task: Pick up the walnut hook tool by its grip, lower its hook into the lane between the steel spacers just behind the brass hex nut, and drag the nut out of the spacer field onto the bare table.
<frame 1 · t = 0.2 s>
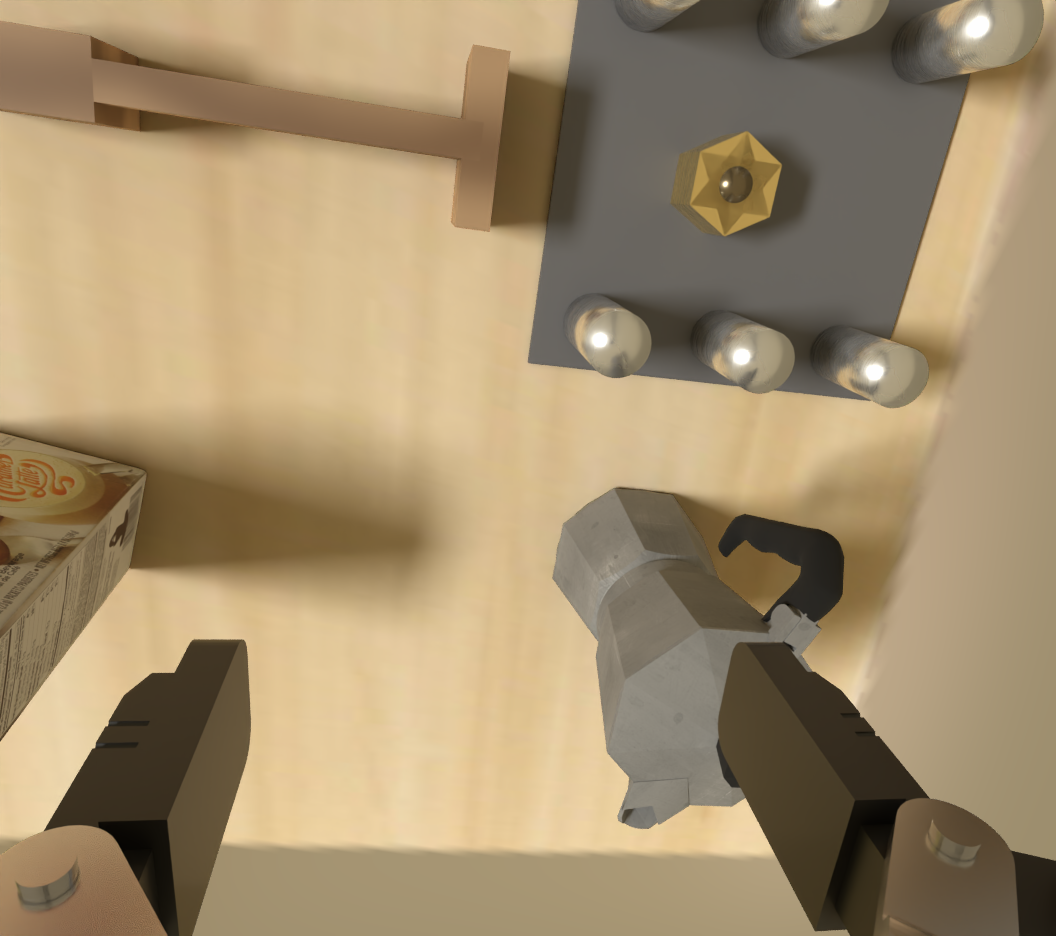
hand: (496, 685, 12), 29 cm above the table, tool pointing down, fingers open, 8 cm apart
steel spacers: (747, 190, 38), resting on spacer mat
spacer mat: (747, 190, 38), on the table
hook tool: (65, 83, 33), on the table
brass nut: (712, 185, 37), resting on spacer mat
coffee box: (52, 497, 39), on the table
coffeepot: (635, 539, 44), on the table
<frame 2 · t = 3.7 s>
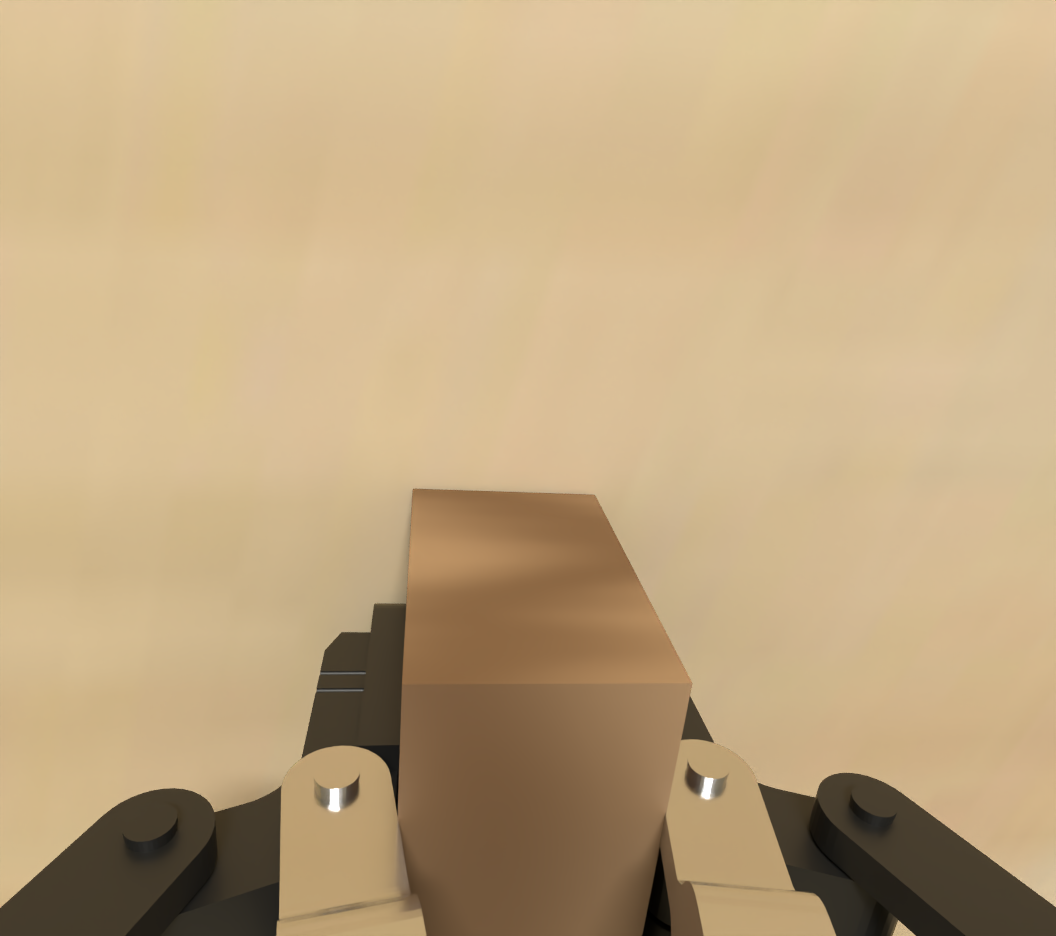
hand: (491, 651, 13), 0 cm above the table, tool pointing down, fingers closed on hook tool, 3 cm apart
hook tool: (492, 647, 13), on the table, touching gripper
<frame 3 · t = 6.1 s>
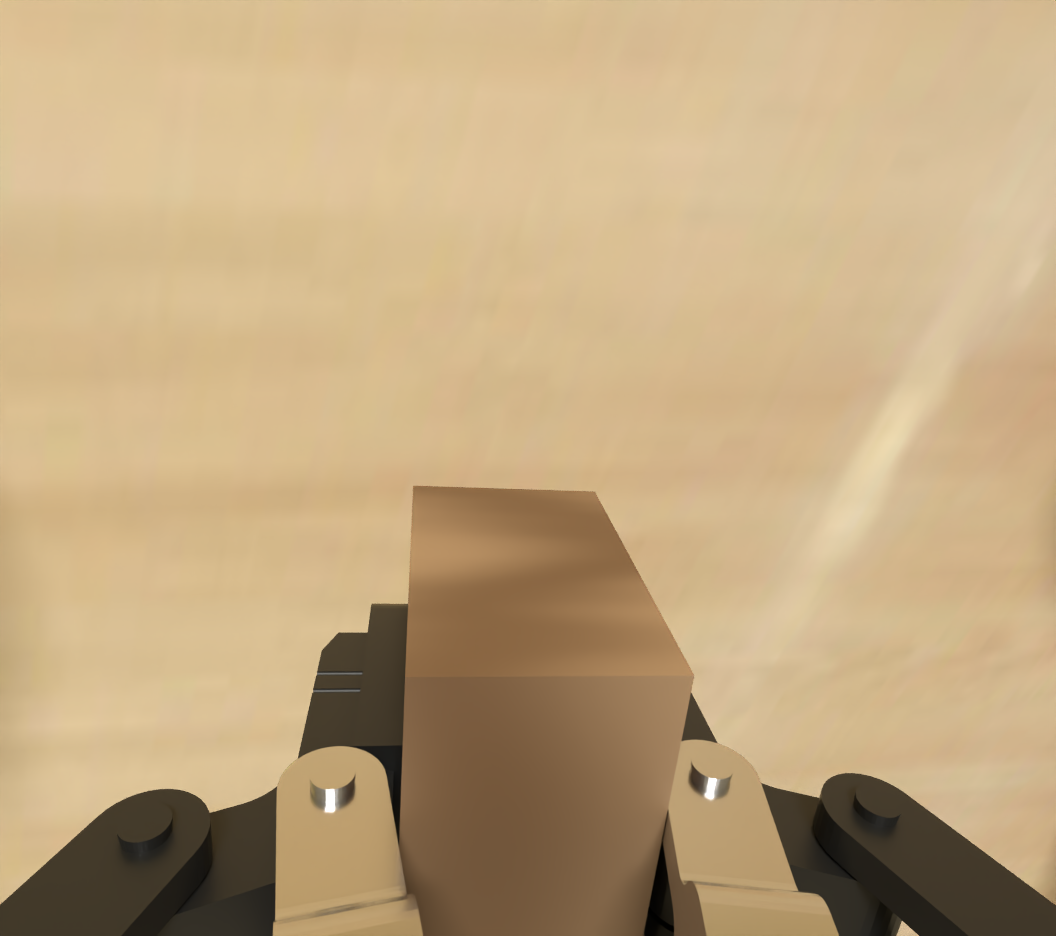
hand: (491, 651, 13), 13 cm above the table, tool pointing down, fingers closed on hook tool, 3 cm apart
hook tool: (492, 644, 13), point 13 cm above the table, touching gripper
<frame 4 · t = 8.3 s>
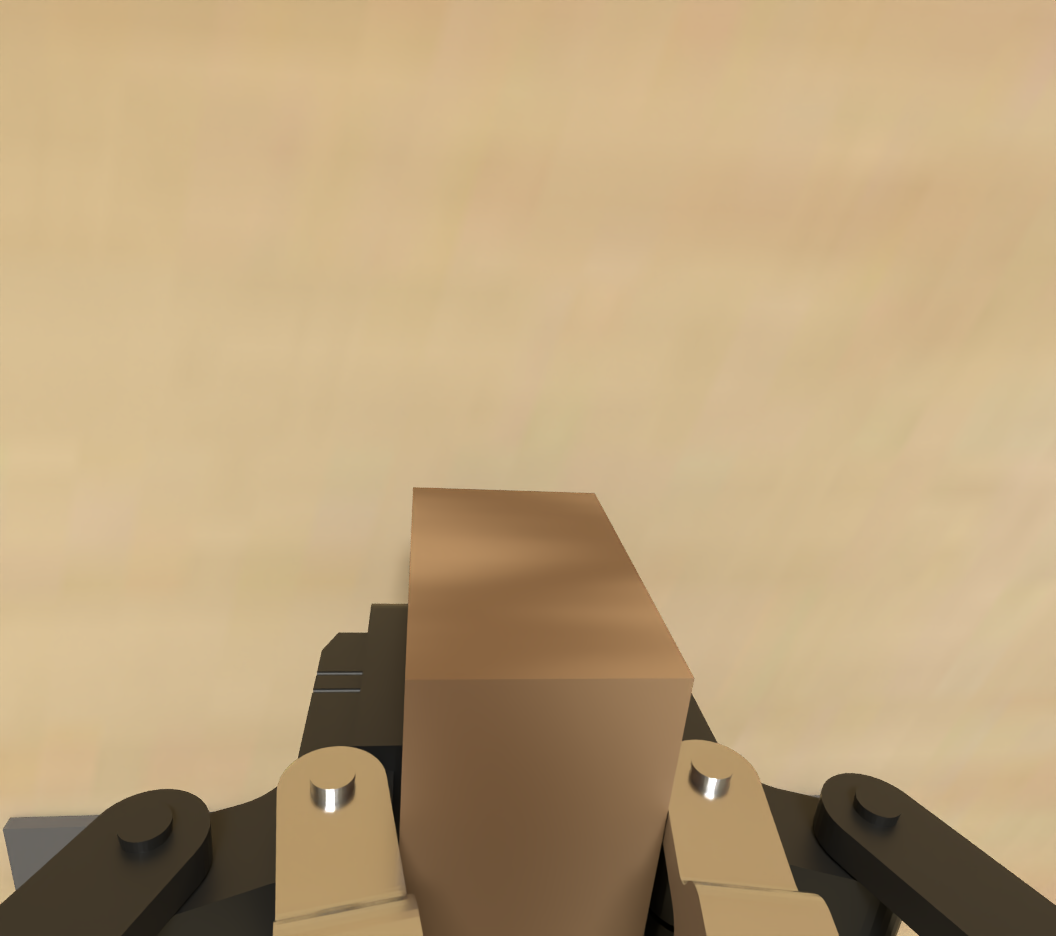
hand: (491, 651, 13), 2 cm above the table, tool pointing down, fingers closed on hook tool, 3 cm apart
hook tool: (492, 645, 13), point 2 cm above the table, touching gripper
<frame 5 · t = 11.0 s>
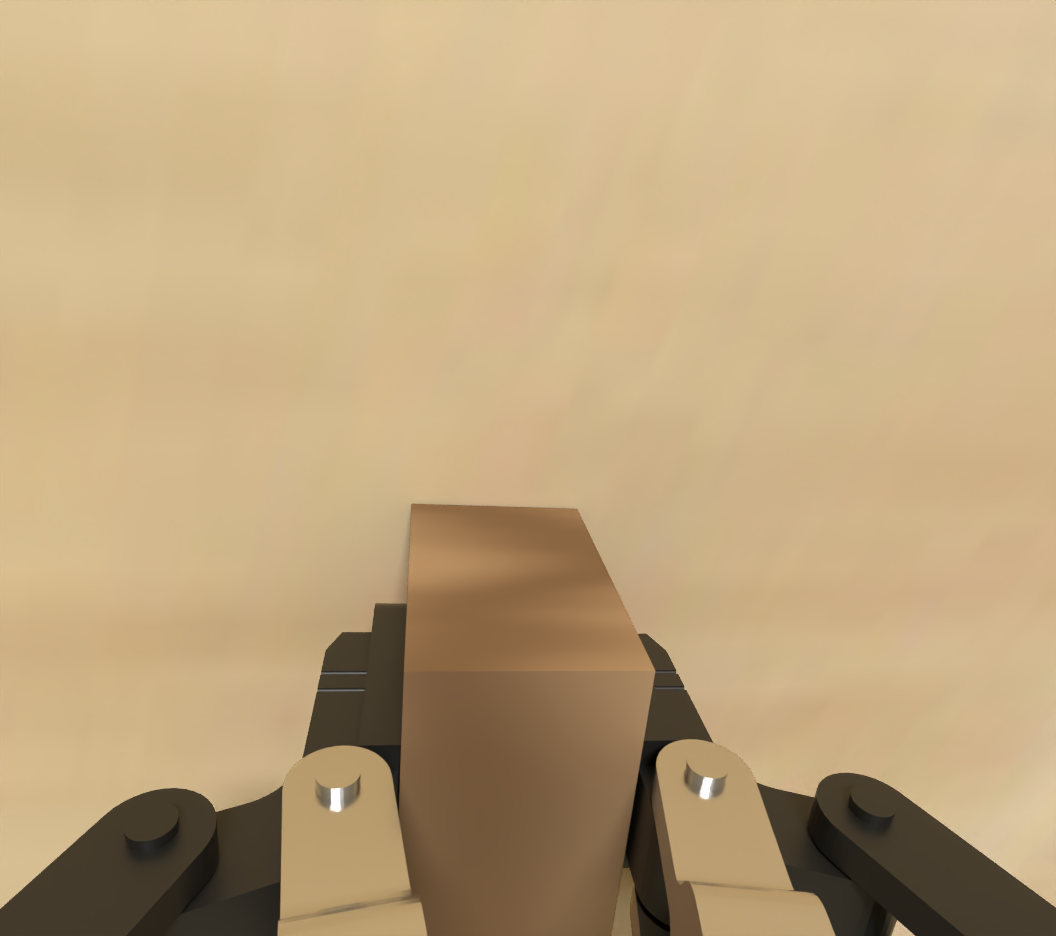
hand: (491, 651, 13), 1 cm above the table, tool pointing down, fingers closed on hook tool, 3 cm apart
hook tool: (484, 649, 14), on the table, touching brass nut, gripper
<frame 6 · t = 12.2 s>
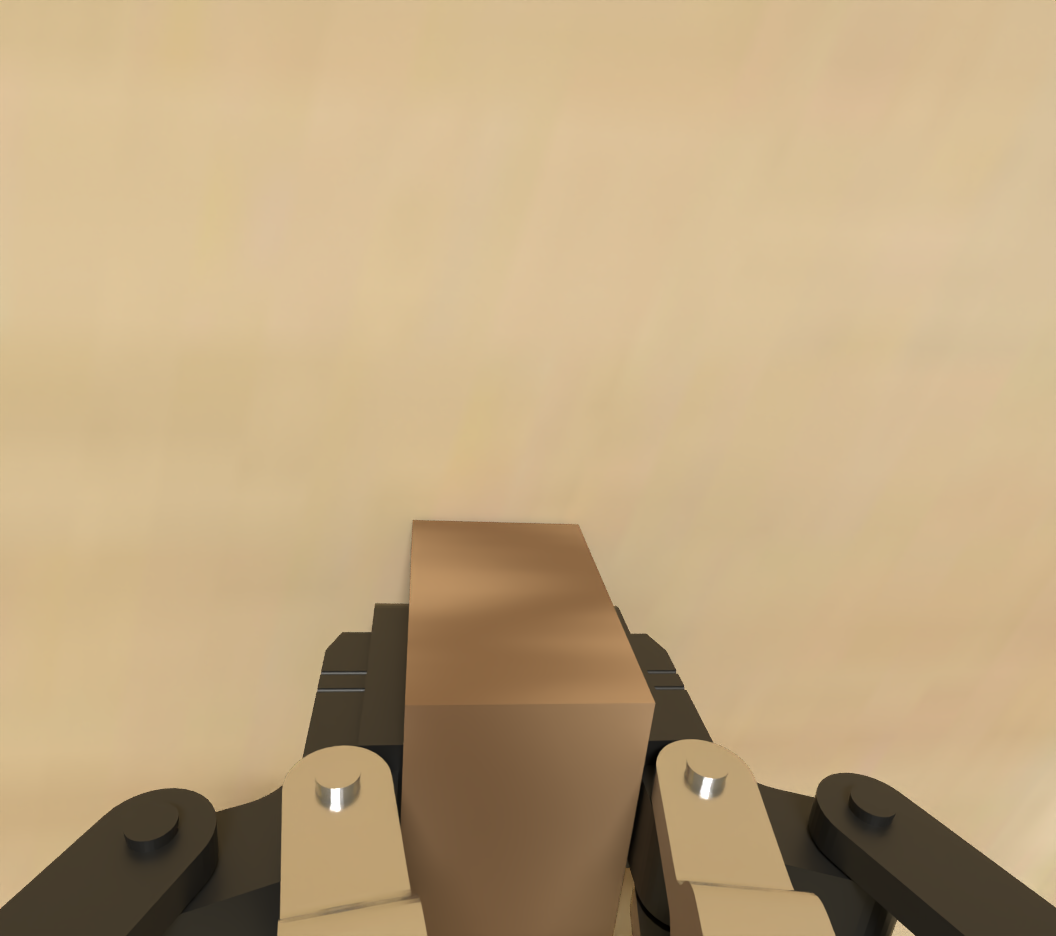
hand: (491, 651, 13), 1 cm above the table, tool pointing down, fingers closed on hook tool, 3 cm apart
hook tool: (485, 661, 14), on the table, touching gripper
when the fingers open (1 cm above the table, at t = 13.1 s): hook tool stays where it is, on the table.
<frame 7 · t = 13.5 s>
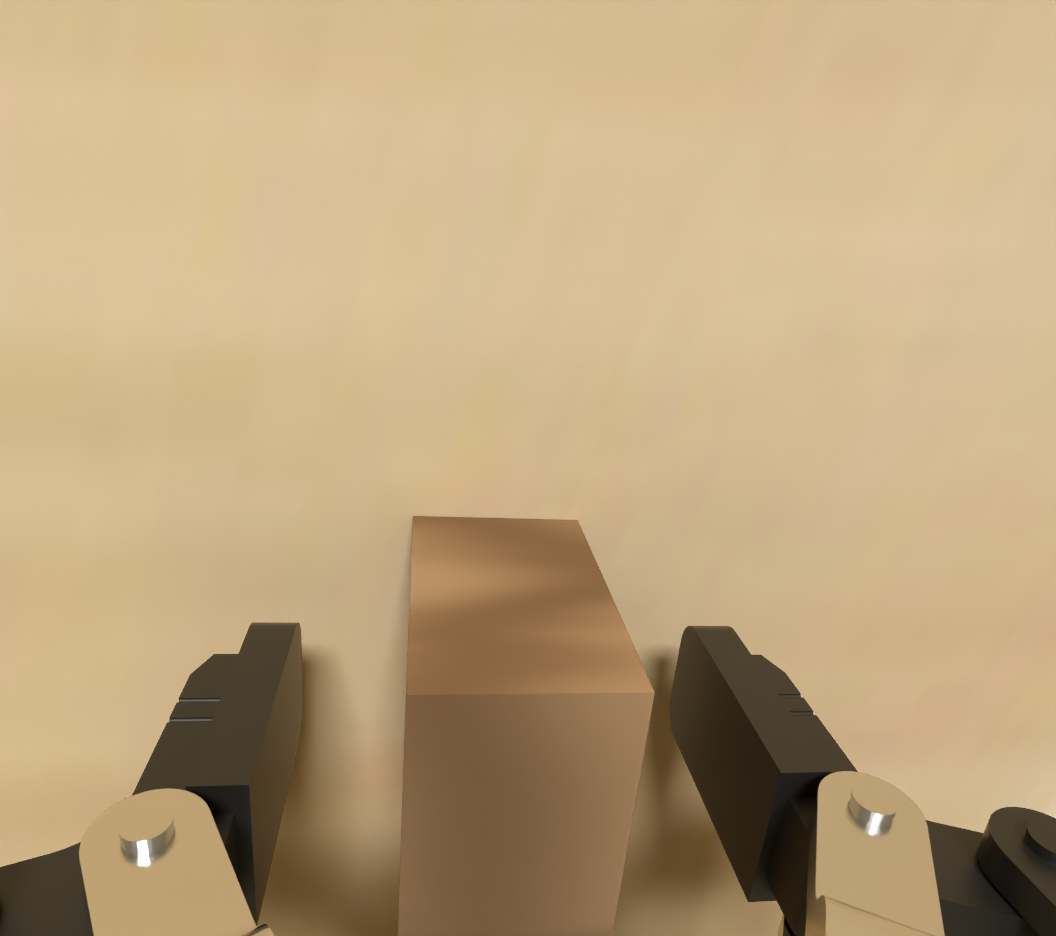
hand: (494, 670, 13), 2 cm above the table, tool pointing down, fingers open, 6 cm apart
hook tool: (485, 658, 15), on the table
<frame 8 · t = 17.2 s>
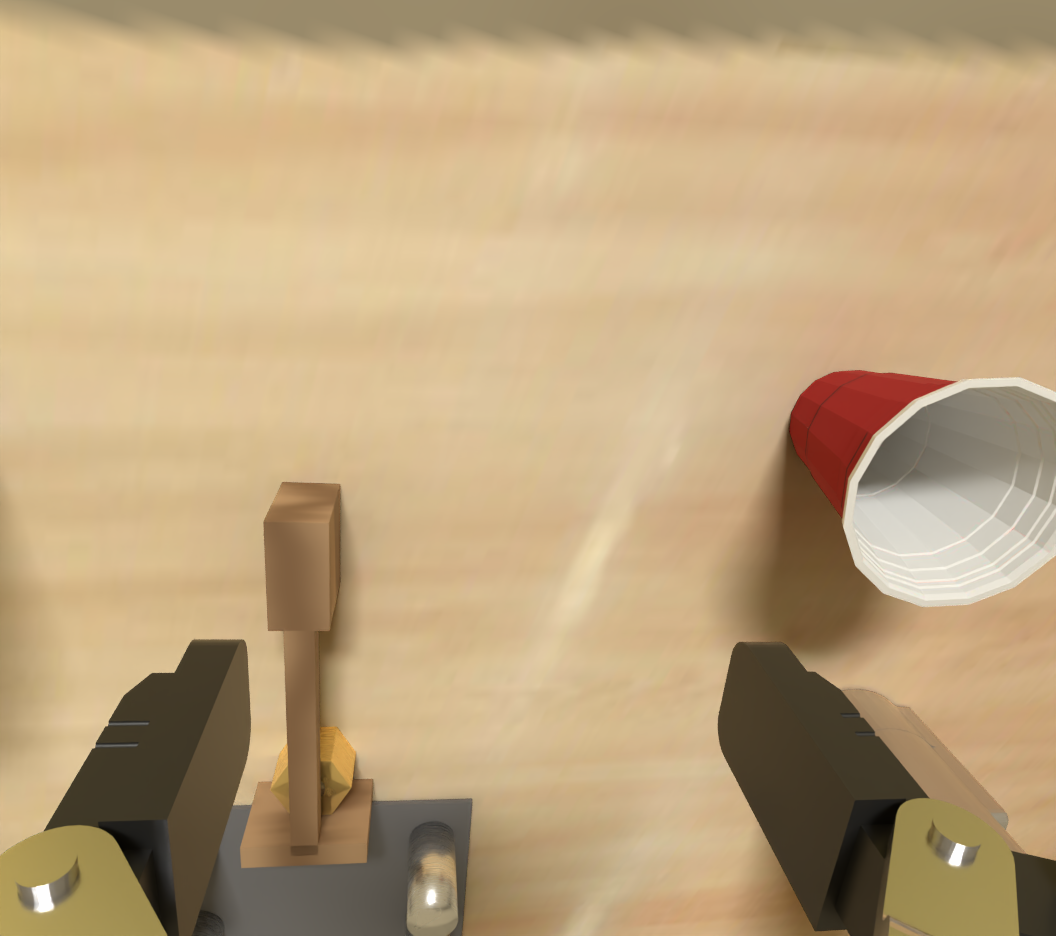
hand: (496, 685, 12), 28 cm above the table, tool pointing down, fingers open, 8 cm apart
steel spacers: (317, 917, 51), resting on spacer mat
spacer mat: (317, 917, 51), on the table
hook tool: (312, 533, 41), on the table
brass nut: (318, 752, 46), on the table
plastic cup: (830, 418, 43), on the table
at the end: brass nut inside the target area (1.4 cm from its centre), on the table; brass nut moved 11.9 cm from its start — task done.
